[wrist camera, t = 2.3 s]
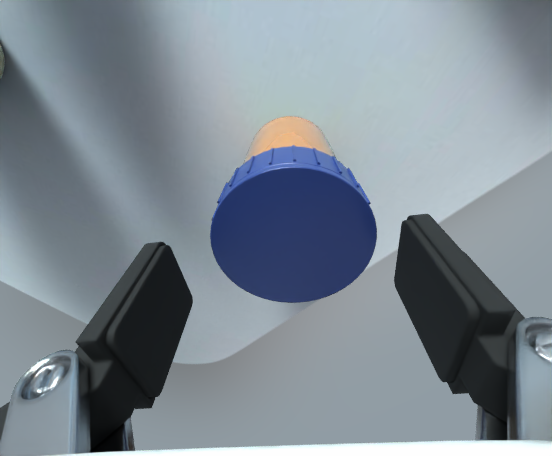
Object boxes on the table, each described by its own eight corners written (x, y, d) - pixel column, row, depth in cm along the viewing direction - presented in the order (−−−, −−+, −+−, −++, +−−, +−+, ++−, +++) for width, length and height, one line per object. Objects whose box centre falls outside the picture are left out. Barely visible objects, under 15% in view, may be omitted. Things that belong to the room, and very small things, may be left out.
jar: (329, 110, 18) (368, 160, 9) (331, 191, 21) (362, 285, 13) (241, 122, 19) (203, 181, 10) (256, 200, 22) (237, 295, 13)
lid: (365, 134, 11) (385, 153, 9) (360, 262, 14) (373, 298, 12) (204, 155, 12) (185, 177, 9) (237, 273, 15) (230, 308, 13)
